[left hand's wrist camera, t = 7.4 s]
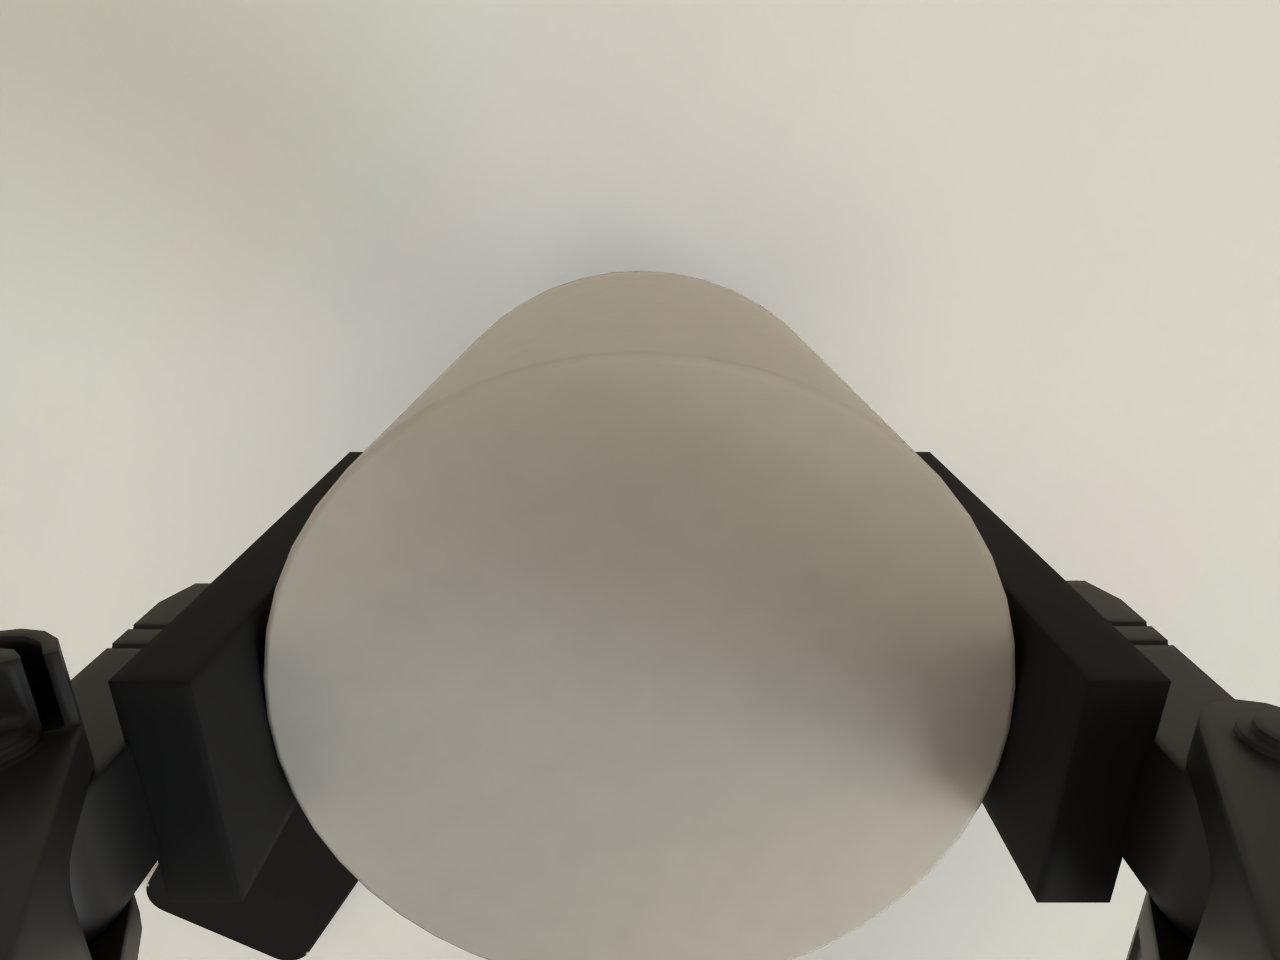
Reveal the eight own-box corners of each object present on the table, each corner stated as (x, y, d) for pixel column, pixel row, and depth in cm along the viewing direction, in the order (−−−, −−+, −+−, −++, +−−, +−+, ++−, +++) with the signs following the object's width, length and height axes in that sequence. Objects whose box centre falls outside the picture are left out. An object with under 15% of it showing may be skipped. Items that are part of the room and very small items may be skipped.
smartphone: (466, 727, 30) (298, 969, 34) (469, 715, 31) (305, 954, 35) (286, 635, 29) (136, 900, 33) (294, 625, 29) (145, 886, 34)
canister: (644, 164, 13) (649, 151, 7) (942, 495, 15) (1167, 730, 9) (335, 486, 15) (107, 718, 9) (635, 739, 17) (632, 1079, 11)
